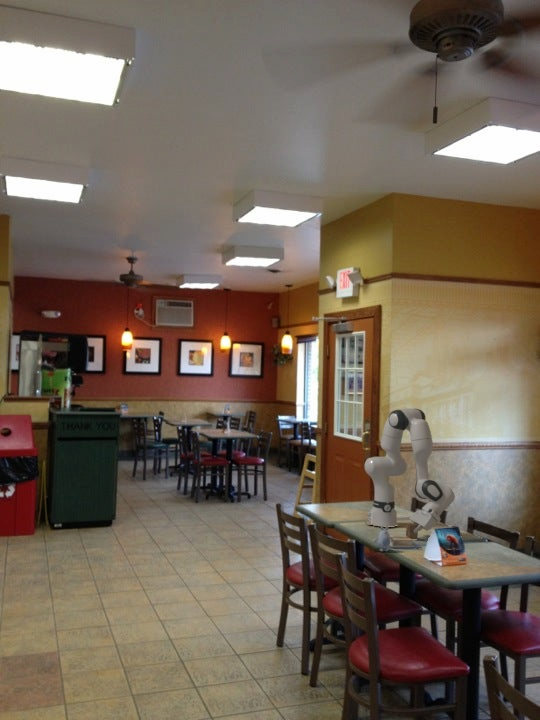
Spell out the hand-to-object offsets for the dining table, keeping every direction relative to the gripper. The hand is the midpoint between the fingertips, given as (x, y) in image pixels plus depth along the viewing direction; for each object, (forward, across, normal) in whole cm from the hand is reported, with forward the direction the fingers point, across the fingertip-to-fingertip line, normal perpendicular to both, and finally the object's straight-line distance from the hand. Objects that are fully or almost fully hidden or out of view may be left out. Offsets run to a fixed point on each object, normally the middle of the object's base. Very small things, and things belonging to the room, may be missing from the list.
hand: (411, 531), depth 344 cm
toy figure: (+20, +24, -14) cm, 34 cm away
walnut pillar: (+3, 0, +3) cm, 4 cm away
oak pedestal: (+12, +13, -5) cm, 18 cm away
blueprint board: (+11, +12, -5) cm, 17 cm away
